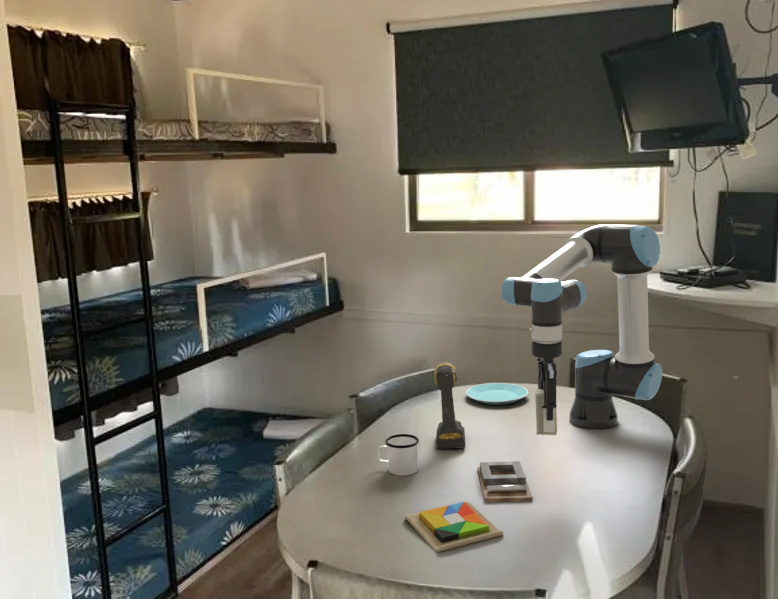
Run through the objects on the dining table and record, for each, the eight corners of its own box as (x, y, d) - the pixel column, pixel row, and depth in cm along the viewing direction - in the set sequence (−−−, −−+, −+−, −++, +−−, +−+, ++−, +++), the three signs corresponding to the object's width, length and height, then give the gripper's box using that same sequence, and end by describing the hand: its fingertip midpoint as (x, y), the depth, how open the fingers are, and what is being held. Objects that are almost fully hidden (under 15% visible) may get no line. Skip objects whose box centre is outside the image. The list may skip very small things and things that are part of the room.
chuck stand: (520, 469, 215) (520, 459, 214) (532, 500, 195) (532, 489, 194) (477, 470, 215) (477, 460, 214) (485, 502, 195) (484, 491, 195)
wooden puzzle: (438, 556, 171) (438, 541, 170) (402, 521, 188) (402, 508, 187) (505, 538, 178) (505, 524, 177) (465, 506, 195) (465, 493, 194)
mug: (423, 465, 220) (423, 435, 218) (414, 478, 211) (413, 447, 209) (384, 461, 224) (383, 431, 222) (373, 474, 215) (371, 443, 213)
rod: (525, 489, 199) (525, 483, 199) (527, 492, 197) (527, 486, 197) (487, 490, 199) (487, 484, 199) (487, 493, 198) (487, 487, 197)
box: (557, 429, 201) (557, 389, 199) (556, 435, 197) (556, 394, 195) (536, 428, 203) (536, 388, 201) (535, 434, 199) (535, 393, 197)
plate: (463, 408, 269) (463, 400, 268) (468, 389, 290) (467, 382, 290) (528, 409, 265) (528, 401, 264) (528, 390, 286) (527, 382, 286)
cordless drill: (465, 428, 248) (464, 353, 243) (465, 452, 228) (463, 370, 224) (437, 428, 249) (435, 353, 244) (434, 452, 229) (432, 371, 225)
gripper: (526, 332, 204) (526, 416, 209) (538, 349, 187) (538, 440, 191) (554, 331, 204) (554, 415, 209) (569, 348, 186) (568, 439, 191)
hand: (546, 427), depth 200 cm, fingers closed on box, 5 cm apart
